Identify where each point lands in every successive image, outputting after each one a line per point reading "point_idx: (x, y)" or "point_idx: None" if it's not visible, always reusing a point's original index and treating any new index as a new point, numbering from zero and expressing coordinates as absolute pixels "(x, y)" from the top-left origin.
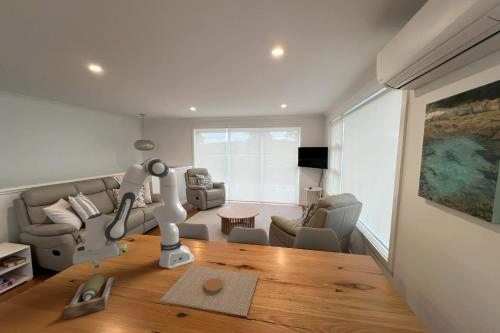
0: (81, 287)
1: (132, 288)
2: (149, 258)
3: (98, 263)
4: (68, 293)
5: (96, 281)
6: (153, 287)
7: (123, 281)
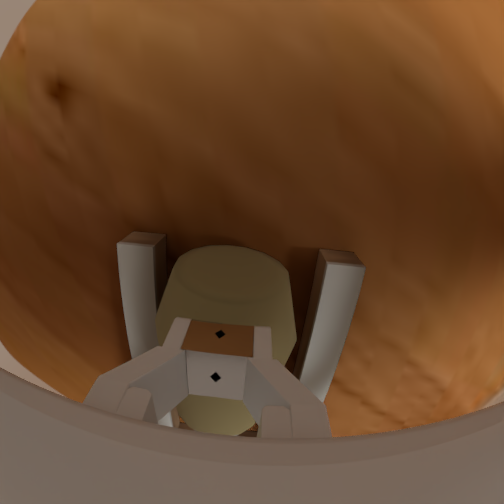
0: (135, 297)
1: (419, 370)
2: None
3: (226, 354)
4: (78, 251)
5: (245, 410)
6: (471, 384)
7: (404, 285)
